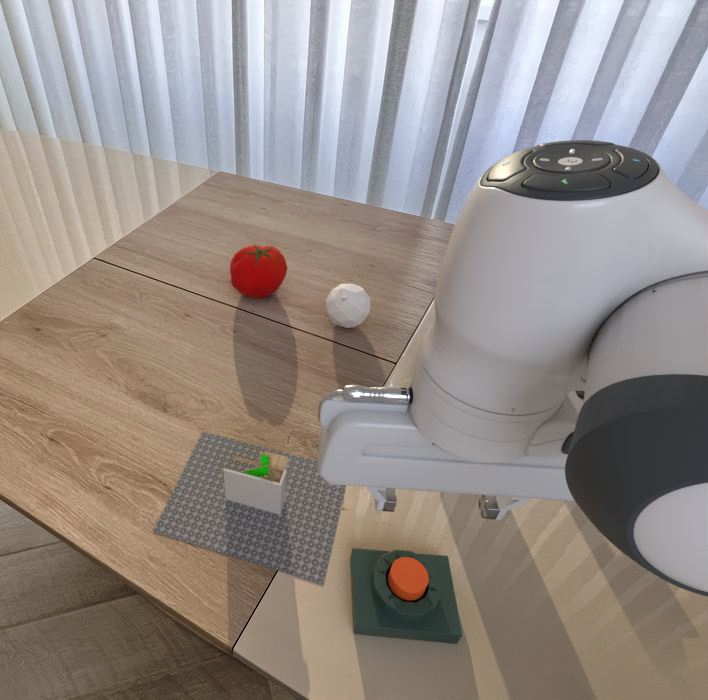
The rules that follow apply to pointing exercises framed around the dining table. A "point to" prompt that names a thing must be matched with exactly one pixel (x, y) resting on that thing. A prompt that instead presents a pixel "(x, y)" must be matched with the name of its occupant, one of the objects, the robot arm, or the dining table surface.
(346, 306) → the ornament
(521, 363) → the robot arm
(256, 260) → the tomato
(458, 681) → the dining table surface
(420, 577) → the button
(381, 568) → the dimmer block
